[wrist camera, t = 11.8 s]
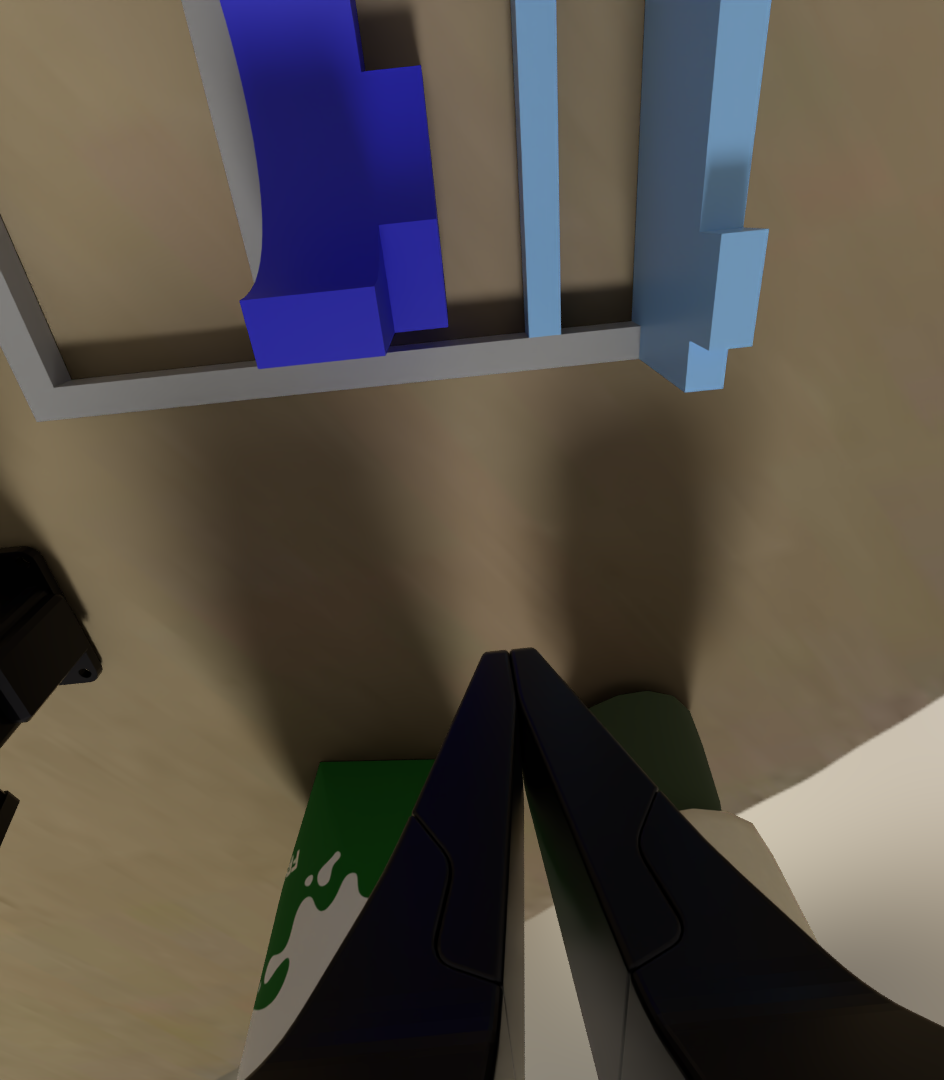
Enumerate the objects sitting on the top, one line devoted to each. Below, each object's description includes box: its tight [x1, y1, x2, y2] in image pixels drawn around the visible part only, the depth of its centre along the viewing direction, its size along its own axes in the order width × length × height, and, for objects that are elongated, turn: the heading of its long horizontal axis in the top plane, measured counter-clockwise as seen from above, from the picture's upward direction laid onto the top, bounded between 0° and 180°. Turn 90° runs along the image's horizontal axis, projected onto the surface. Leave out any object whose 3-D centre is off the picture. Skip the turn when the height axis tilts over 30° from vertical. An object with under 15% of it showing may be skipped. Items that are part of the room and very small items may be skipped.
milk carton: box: [237, 759, 435, 1080], centre depth 22 cm, size 9×9×20 cm
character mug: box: [589, 691, 818, 943], centre depth 23 cm, size 11×7×13 cm, turn 43°
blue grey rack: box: [0, 0, 771, 422], centre depth 13 cm, size 20×16×6 cm
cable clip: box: [220, 0, 448, 369], centre depth 13 cm, size 12×4×6 cm, turn 5°
